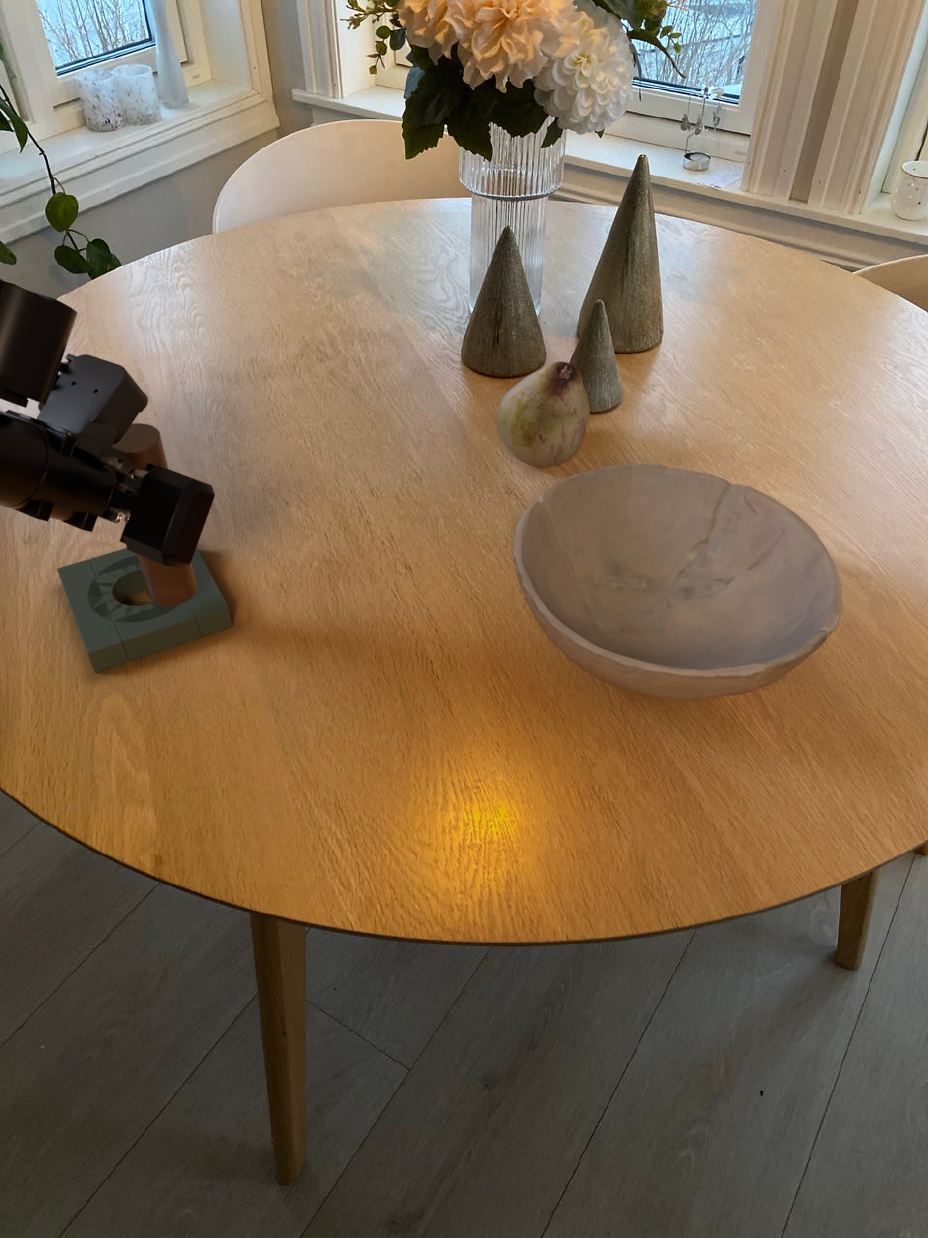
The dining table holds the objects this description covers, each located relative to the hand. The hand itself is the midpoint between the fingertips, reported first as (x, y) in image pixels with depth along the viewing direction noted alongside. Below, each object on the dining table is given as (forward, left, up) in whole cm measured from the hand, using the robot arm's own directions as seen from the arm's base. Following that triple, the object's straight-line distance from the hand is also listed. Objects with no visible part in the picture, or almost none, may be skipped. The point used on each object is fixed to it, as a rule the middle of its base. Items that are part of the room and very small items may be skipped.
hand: (165, 509), depth 76 cm
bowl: (+35, -21, -13) cm, 43 cm away
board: (-3, +4, -13) cm, 14 cm away
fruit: (+41, +8, -13) cm, 44 cm away
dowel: (-1, -1, -8) cm, 8 cm away
